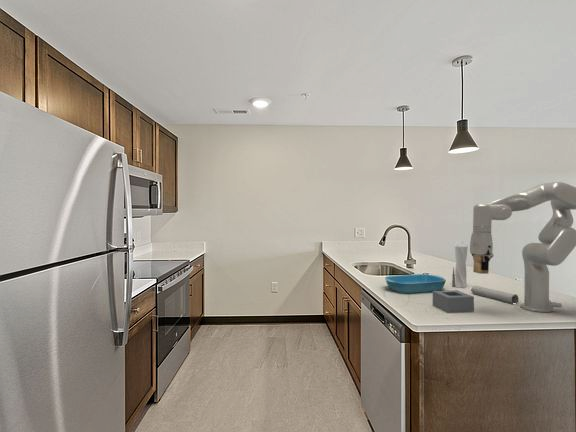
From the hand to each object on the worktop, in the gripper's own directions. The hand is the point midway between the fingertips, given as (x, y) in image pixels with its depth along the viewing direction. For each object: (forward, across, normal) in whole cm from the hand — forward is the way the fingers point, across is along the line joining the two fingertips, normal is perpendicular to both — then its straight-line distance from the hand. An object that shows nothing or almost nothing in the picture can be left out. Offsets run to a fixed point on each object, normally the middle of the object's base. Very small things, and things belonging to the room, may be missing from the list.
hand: (480, 268), depth 159 cm
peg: (+2, 0, 0) cm, 2 cm away
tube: (+20, -20, +23) cm, 36 cm away
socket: (+20, -6, -10) cm, 23 cm away
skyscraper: (+20, -48, +24) cm, 58 cm away
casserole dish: (+21, -46, -8) cm, 51 cm away
